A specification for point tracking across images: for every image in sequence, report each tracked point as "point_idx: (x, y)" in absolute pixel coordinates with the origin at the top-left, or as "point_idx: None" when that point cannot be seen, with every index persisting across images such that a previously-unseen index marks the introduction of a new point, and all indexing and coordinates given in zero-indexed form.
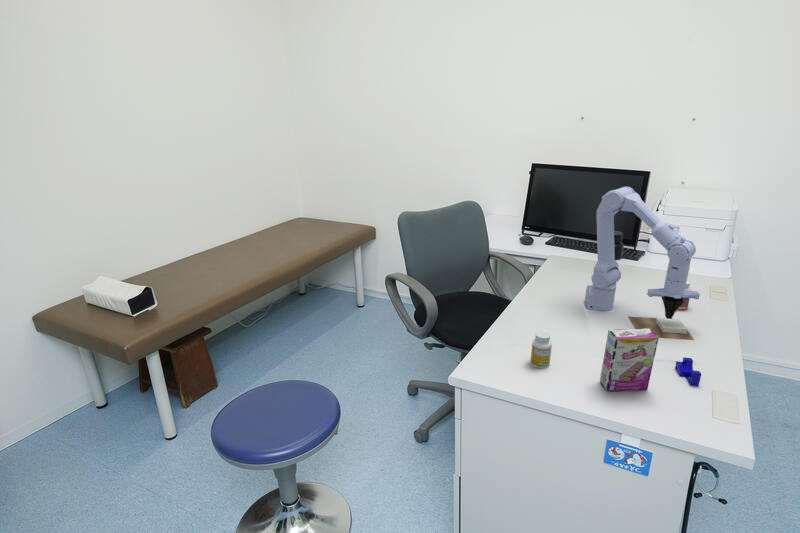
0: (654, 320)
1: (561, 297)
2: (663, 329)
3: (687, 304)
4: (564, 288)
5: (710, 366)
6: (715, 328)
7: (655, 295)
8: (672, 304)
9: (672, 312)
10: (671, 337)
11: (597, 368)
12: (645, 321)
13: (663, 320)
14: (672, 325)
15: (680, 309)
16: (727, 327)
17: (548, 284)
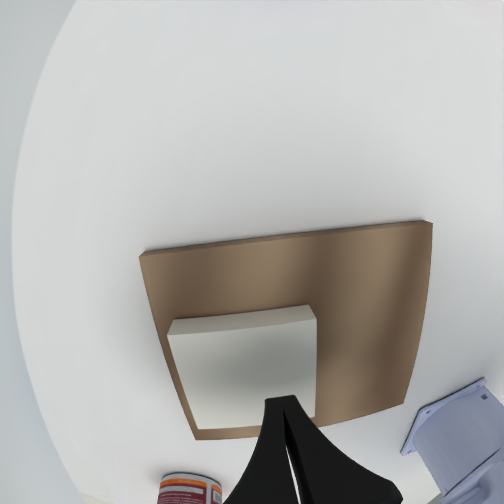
0: None
1: None
2: (312, 313)
3: (160, 499)
4: None
5: (137, 24)
6: (69, 396)
7: (458, 501)
8: (321, 490)
9: (279, 432)
10: (270, 253)
11: (500, 24)
12: (352, 392)
13: None
14: (250, 364)
15: (183, 483)
16: (44, 401)
17: None
